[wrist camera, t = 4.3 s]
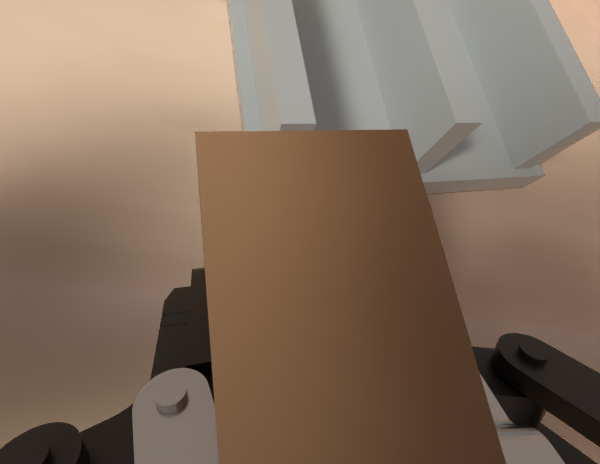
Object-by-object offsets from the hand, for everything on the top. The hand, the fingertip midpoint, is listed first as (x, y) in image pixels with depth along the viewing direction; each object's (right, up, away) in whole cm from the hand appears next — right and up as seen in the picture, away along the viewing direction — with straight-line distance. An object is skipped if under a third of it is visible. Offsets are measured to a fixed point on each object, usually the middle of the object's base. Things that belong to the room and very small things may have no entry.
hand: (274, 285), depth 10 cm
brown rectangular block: (0, -3, +3) cm, 5 cm away
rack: (+5, +10, +9) cm, 14 cm away
